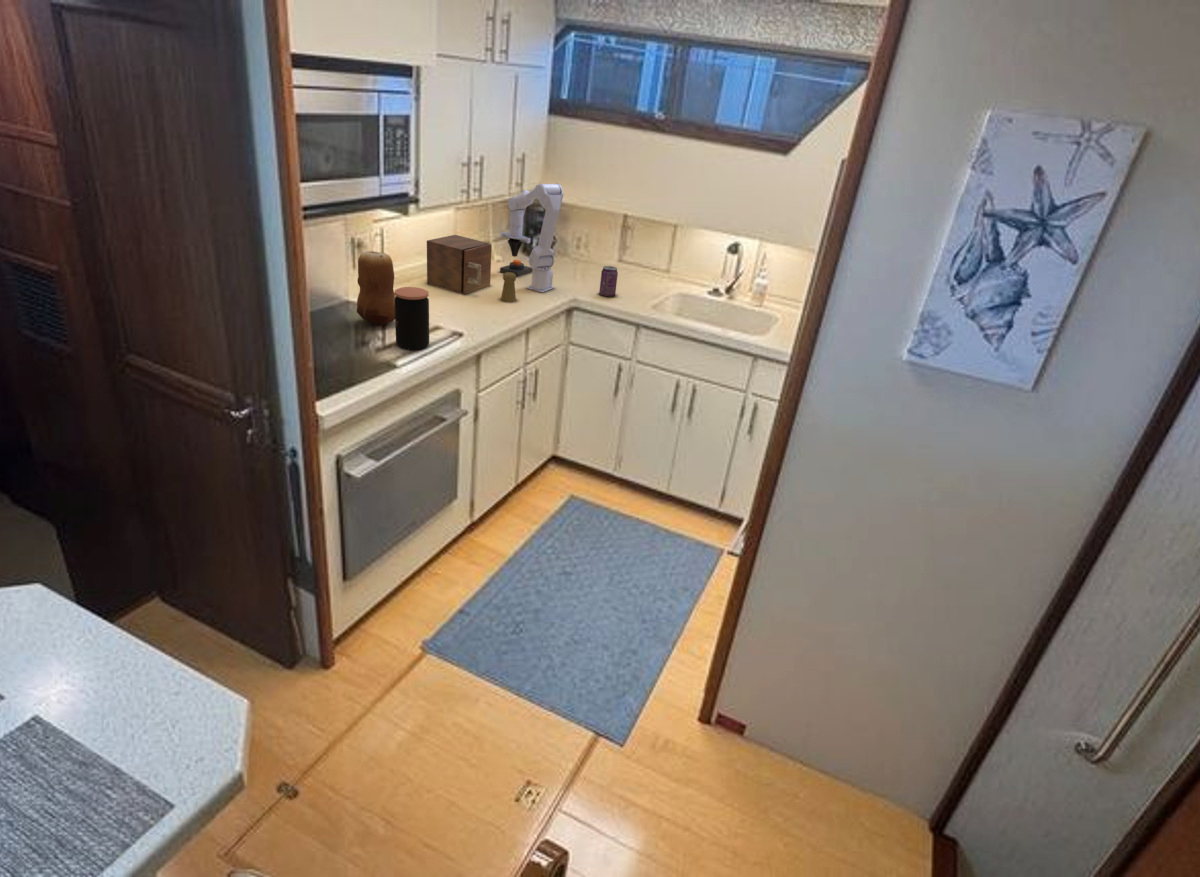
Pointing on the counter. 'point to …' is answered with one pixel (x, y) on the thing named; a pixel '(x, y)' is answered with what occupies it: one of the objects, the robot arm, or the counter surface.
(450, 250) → the cupboard
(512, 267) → the switch block
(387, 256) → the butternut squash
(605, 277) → the beverage can
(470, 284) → the door
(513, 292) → the pepper shaker
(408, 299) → the coffee jar
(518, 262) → the button
